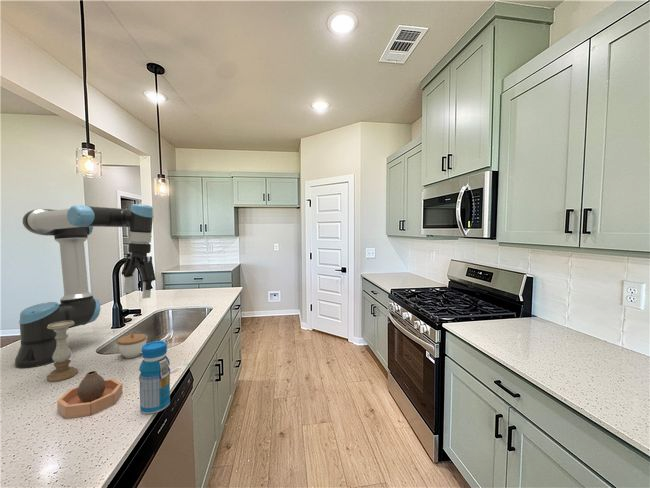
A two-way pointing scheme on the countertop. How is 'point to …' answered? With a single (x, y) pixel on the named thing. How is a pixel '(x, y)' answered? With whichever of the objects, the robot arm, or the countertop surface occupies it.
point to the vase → (91, 387)
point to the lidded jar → (131, 345)
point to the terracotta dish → (75, 407)
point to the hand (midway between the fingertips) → (136, 295)
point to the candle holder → (61, 353)
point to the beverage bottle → (154, 378)
